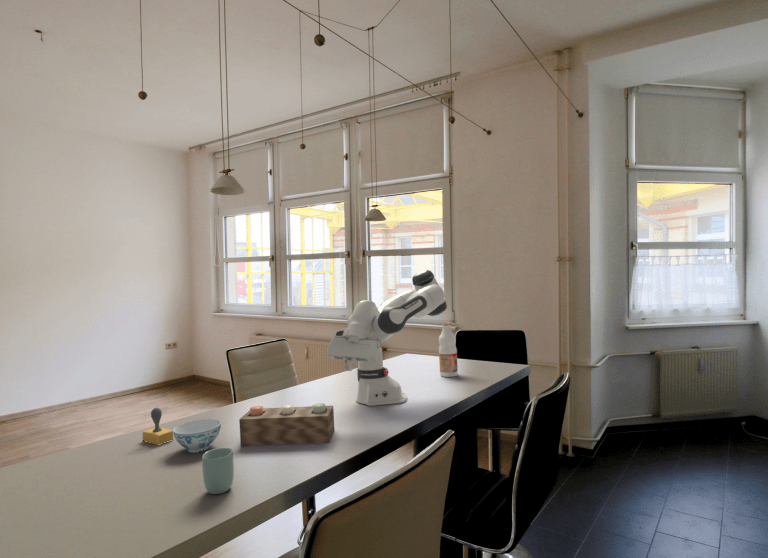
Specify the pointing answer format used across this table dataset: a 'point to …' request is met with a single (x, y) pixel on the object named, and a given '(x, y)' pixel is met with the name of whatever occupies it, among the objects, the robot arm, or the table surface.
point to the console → (287, 427)
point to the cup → (218, 470)
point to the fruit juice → (447, 352)
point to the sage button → (319, 408)
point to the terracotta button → (256, 410)
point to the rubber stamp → (157, 430)
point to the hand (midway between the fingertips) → (347, 370)
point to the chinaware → (197, 434)
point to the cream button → (287, 409)
